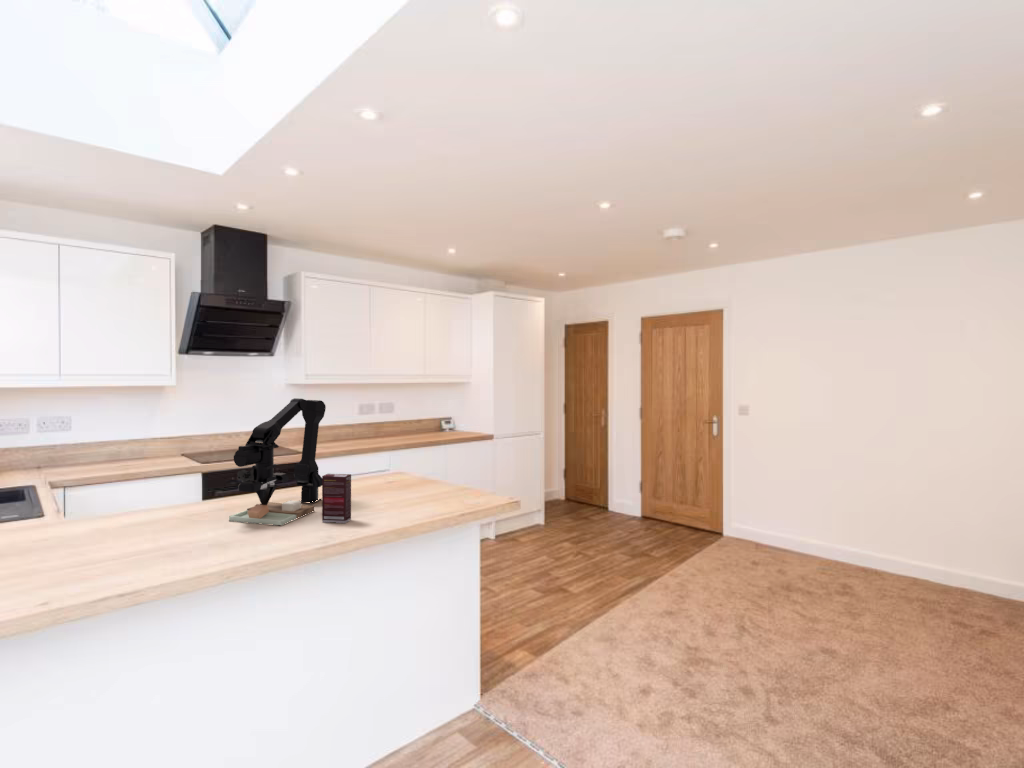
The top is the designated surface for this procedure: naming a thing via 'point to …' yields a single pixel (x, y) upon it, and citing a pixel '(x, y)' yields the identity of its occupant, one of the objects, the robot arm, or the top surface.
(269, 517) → the green tray
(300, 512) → the walnut board
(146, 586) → the top surface
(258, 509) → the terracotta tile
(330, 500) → the supplement box
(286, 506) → the cream tile
